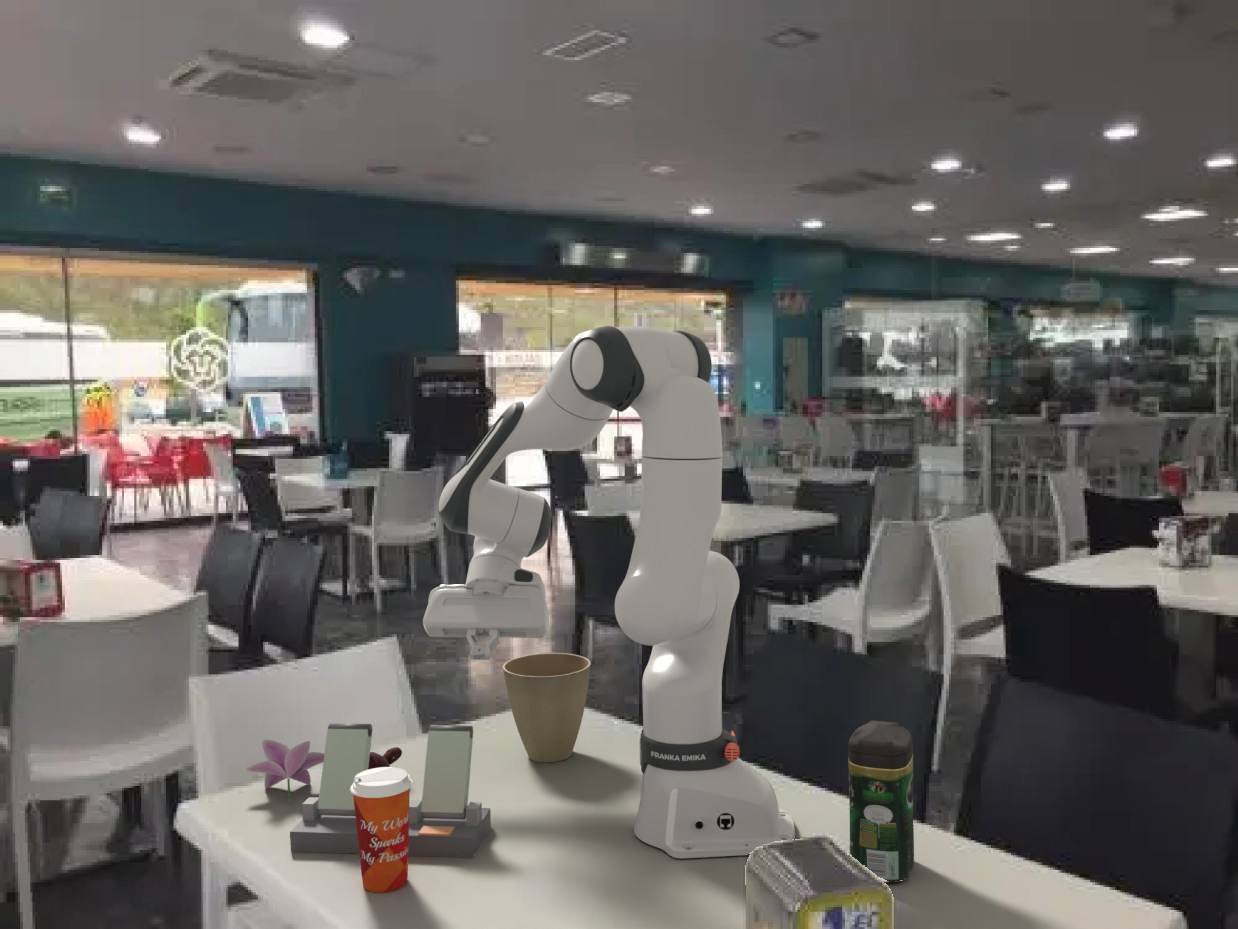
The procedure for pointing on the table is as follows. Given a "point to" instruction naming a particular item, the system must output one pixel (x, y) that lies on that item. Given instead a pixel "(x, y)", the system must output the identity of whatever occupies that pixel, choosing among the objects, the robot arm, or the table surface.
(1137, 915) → the table surface
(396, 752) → the icecream
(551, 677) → the plant pot
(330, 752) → the lever
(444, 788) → the lever
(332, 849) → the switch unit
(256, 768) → the lily
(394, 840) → the paper cup
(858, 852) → the coffee jar
